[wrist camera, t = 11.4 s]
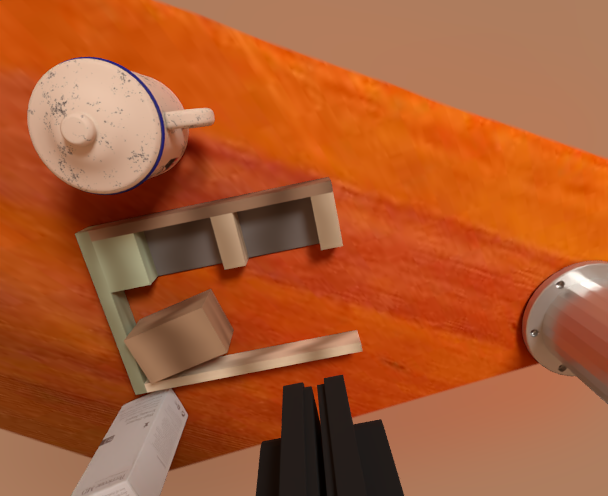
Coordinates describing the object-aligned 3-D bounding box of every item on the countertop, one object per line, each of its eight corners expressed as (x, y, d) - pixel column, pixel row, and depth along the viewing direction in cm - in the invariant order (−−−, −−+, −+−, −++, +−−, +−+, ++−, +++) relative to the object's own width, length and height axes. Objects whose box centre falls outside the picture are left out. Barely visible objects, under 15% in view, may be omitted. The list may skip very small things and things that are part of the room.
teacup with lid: (102, 185, 38) (24, 211, 27) (75, 78, 36) (-25, 59, 24) (233, 168, 38) (208, 188, 27) (215, 61, 35) (179, 33, 24)
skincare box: (170, 384, 44) (126, 477, 33) (190, 416, 46) (156, 516, 34) (119, 405, 45) (60, 504, 33) (141, 436, 46) (91, 541, 35)
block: (211, 288, 42) (201, 307, 37) (233, 329, 43) (227, 352, 39) (140, 318, 42) (123, 341, 38) (165, 358, 44) (151, 384, 39)
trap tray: (328, 176, 38) (330, 180, 36) (358, 338, 43) (362, 351, 41) (88, 227, 39) (74, 233, 37) (144, 380, 44) (135, 394, 42)
